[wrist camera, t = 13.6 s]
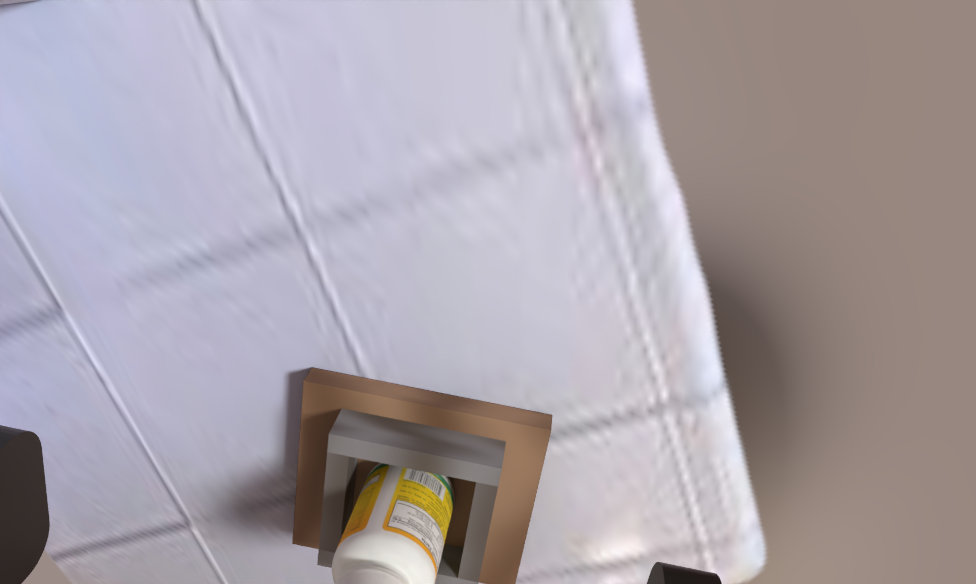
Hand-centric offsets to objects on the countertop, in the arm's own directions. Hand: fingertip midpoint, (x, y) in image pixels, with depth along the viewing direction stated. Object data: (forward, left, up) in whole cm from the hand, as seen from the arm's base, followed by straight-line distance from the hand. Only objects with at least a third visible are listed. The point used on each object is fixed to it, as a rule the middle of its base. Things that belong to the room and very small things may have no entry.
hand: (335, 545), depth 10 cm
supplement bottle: (-2, -23, -29) cm, 37 cm away
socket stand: (-2, -23, -30) cm, 38 cm away
